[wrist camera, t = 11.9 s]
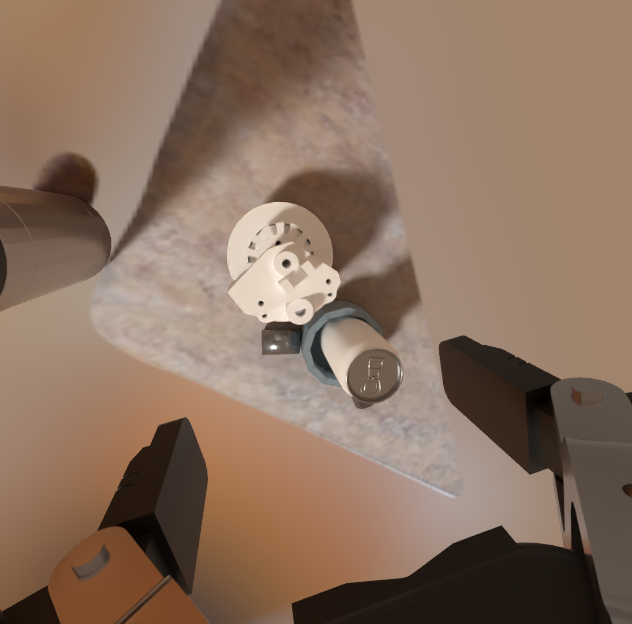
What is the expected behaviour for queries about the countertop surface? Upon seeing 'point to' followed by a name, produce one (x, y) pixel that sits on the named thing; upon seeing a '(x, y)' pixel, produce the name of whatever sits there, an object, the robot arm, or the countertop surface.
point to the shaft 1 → (280, 342)
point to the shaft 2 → (360, 404)
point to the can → (361, 359)
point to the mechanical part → (281, 263)
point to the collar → (312, 332)
